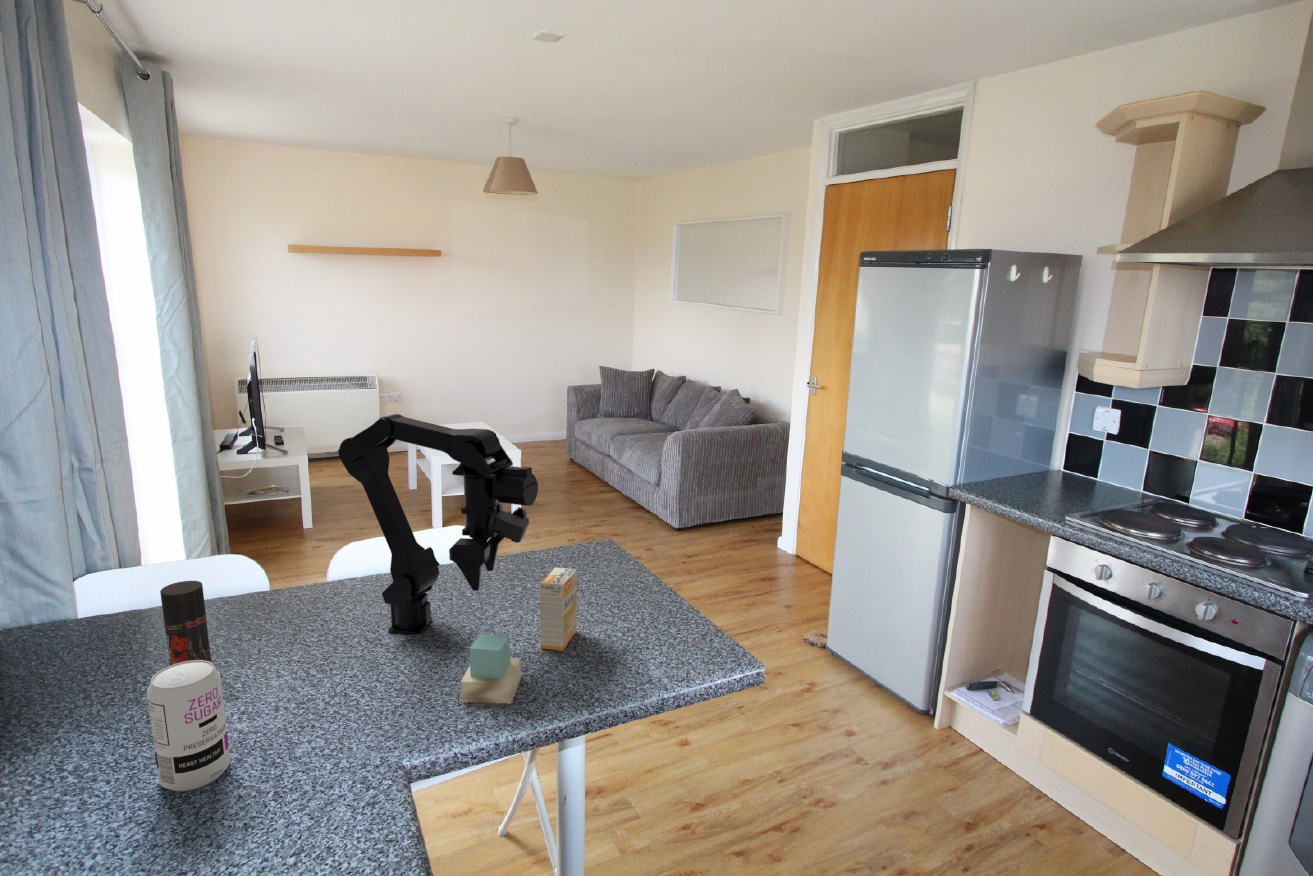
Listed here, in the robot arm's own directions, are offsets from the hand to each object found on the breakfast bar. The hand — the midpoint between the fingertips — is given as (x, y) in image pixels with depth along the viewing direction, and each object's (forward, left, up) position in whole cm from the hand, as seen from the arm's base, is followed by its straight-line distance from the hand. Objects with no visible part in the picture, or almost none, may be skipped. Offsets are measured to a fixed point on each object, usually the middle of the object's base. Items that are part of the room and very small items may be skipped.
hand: (483, 580), depth 134 cm
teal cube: (+6, -17, -8) cm, 20 cm away
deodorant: (-47, -15, -12) cm, 51 cm away
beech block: (+6, -17, -12) cm, 22 cm away
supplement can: (-28, -41, -12) cm, 51 cm away
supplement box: (+14, +1, -12) cm, 19 cm away
